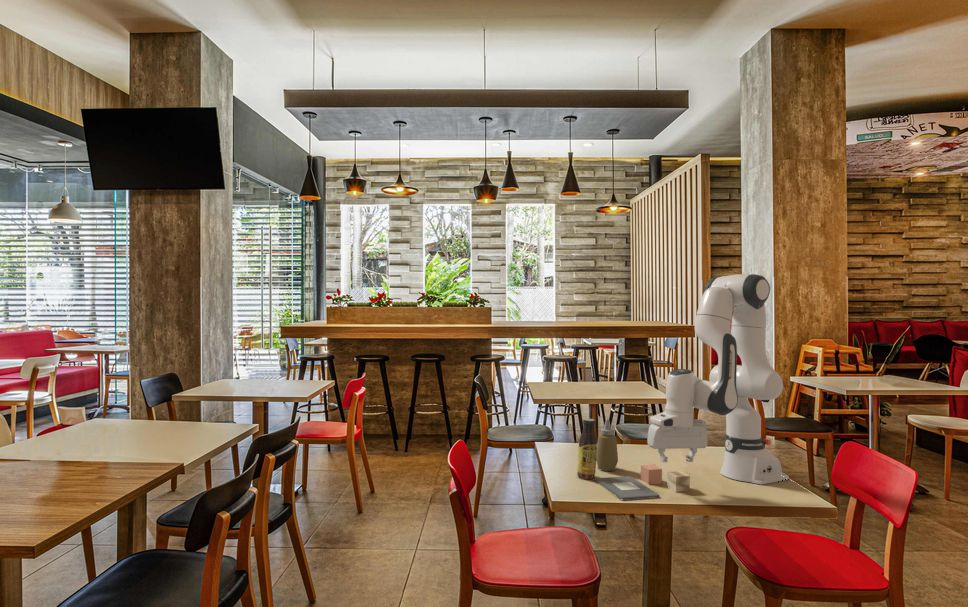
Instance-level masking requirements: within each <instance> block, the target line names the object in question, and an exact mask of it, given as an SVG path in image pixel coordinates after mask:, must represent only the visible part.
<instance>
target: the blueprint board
mask: <svg viewBox="0 0 968 607" xmlns="http://www.w3.org/2000/svg"><path fill="white" fill-rule="evenodd" d="M595 481H596V482H597V483H598V484H599V483H600V484H599V485H601V486H602V487H603V488H605V489H606V490H608V492H610V493H611V492H612V493H613V494H612V493H611V494H612V495H614V494H615V495H616V496H617V497H616V496H615V495H614V496H615V497H616V498H618V497H619V498H620V499H633V500H638V499H637V498H647V499H650V498H649V497H660V494H658V492H656V491H654V490H652V488H650V487H648V486H646V485H645V484H643V483H642V482H641V481H639V480H637V479H636V478H634V477H633V476H630V475H629V476H612V477H611V476H610V477H595ZM619 498H618V499H619ZM620 499H619V500H620Z"/></svg>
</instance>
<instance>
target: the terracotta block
mask: <svg viewBox="0 0 968 607" xmlns="http://www.w3.org/2000/svg"><path fill="white" fill-rule="evenodd" d="M642 480H643V481H642ZM640 481H642V482H644V483H645V482H646V483H645V484H647V485H648V484H650V485H660V484H659V483H662V484H663V468H661V467H659V466H658V465H656V464H643V465H640Z"/></svg>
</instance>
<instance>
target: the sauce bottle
mask: <svg viewBox="0 0 968 607" xmlns="http://www.w3.org/2000/svg"><path fill="white" fill-rule="evenodd" d="M582 423H583V428H582V433H581V434H580V436H579V439H578V450H577V451H578V452H577V467H576V471H577V473H576V474H577V477H578V478H580V479H585V480H592V479H594V478H596V477H595V476H596V467H597V462H596V452H597V443H598V442H597V438H596V435H595V425H596V420H595V419H594V418H582Z"/></svg>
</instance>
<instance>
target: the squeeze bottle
mask: <svg viewBox="0 0 968 607" xmlns="http://www.w3.org/2000/svg"><path fill="white" fill-rule="evenodd" d="M614 432H615V430H614V429H613V428H612V427H611V421H610V418H609V419H608V418H606V419H605V422H604V426H603V427H602V428H601V429H600V434H598V437H597V442H596V443H597V452H596V466H597V468H598V469H599V470H600V469H601V471H604V472H612V471H615V470H616V467H617V465H618V462H619V455H618V443H617V442H618V441H617V436H616V435H614V434H615V433H614Z"/></svg>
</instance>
